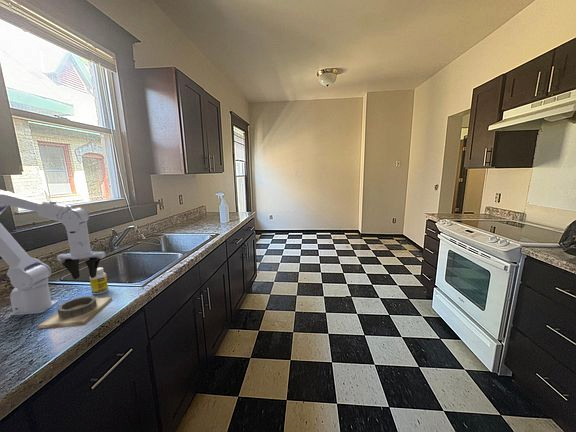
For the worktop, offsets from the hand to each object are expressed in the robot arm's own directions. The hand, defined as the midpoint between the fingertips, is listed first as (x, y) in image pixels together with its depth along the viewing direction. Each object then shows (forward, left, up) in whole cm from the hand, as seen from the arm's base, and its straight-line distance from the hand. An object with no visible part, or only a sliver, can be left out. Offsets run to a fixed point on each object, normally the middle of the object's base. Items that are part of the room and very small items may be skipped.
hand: (85, 277), depth 91 cm
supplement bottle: (-1, +9, -10) cm, 14 cm away
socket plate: (+1, -7, -10) cm, 12 cm away
